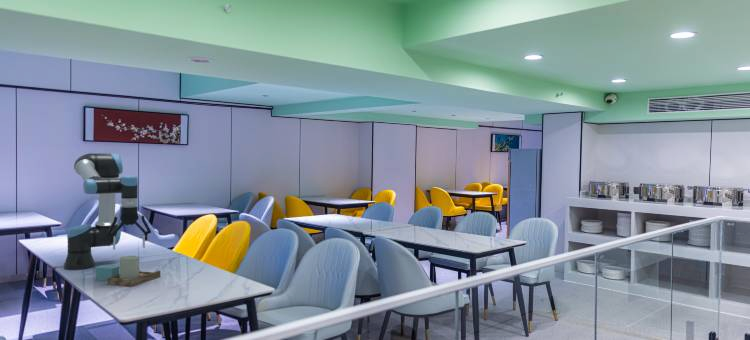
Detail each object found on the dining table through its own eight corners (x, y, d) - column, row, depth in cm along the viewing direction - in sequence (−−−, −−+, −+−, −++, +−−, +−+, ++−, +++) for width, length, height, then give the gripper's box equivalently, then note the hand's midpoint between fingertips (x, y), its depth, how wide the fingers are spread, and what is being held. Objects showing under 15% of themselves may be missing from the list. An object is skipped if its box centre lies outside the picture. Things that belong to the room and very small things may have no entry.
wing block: (95, 280, 268) (95, 267, 268) (103, 278, 273) (103, 265, 273) (112, 282, 266) (112, 268, 265) (119, 280, 270) (119, 266, 270)
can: (143, 278, 268) (143, 255, 268) (129, 283, 260) (129, 258, 259) (129, 277, 271) (129, 254, 271) (115, 281, 263) (115, 257, 262)
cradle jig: (107, 284, 260) (107, 278, 260) (137, 274, 282) (137, 268, 282) (131, 286, 257) (131, 280, 257) (160, 276, 278) (160, 270, 278)
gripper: (101, 208, 254) (101, 251, 255) (157, 206, 267) (156, 247, 268) (101, 206, 261) (100, 248, 262) (154, 204, 274) (154, 245, 275)
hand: (129, 248), depth 265 cm, fingers open, 13 cm apart
